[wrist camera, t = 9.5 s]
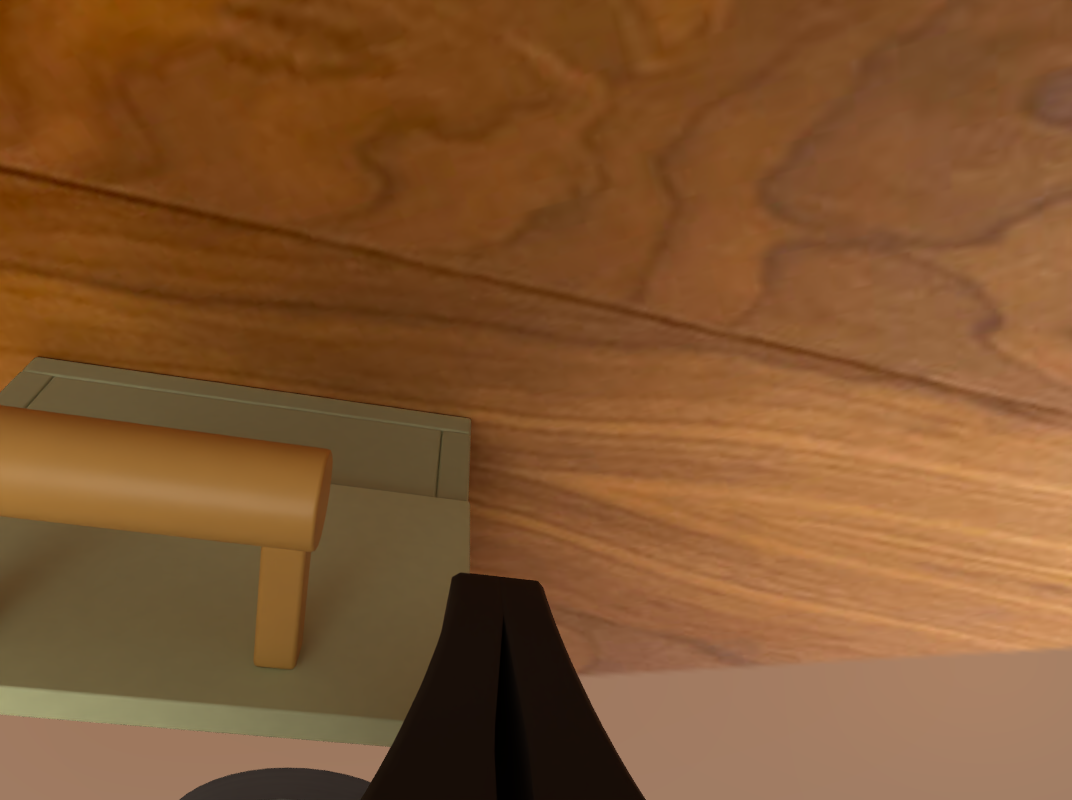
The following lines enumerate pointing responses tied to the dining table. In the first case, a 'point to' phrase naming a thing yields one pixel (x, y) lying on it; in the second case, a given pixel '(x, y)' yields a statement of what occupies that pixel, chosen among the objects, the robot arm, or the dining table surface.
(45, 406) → the box
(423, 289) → the dining table surface
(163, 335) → the dining table surface
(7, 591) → the lid
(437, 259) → the dining table surface
